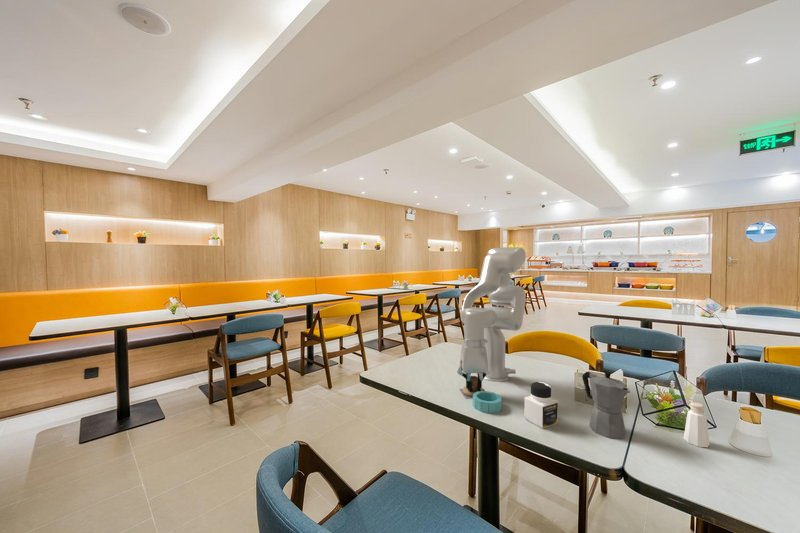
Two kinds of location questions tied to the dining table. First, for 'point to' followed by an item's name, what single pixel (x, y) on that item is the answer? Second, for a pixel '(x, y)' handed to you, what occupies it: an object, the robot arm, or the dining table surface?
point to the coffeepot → (606, 404)
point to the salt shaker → (696, 426)
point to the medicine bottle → (541, 406)
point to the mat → (464, 395)
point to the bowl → (487, 402)
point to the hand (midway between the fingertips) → (473, 389)
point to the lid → (472, 387)
